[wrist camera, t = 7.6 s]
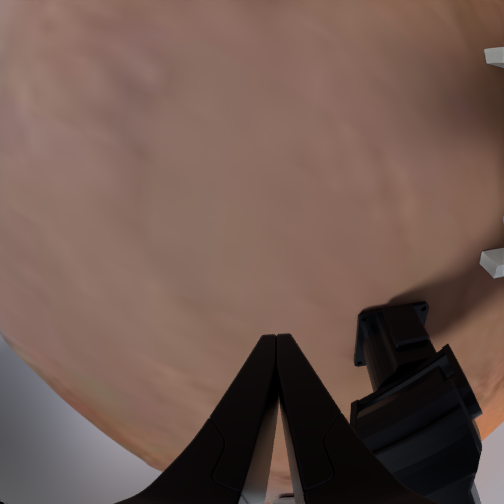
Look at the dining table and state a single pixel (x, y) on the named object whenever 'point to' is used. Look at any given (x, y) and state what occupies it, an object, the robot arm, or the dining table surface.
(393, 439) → the robot arm
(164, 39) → the dining table surface
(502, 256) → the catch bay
